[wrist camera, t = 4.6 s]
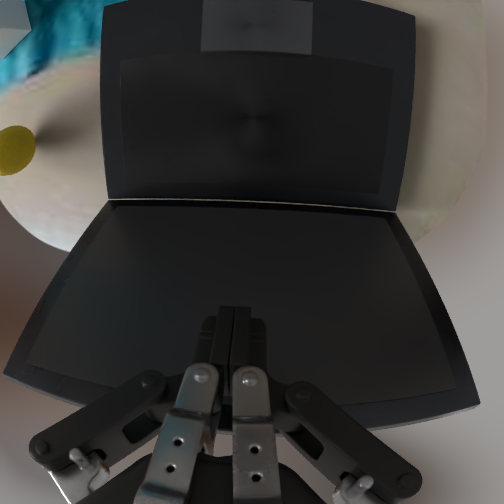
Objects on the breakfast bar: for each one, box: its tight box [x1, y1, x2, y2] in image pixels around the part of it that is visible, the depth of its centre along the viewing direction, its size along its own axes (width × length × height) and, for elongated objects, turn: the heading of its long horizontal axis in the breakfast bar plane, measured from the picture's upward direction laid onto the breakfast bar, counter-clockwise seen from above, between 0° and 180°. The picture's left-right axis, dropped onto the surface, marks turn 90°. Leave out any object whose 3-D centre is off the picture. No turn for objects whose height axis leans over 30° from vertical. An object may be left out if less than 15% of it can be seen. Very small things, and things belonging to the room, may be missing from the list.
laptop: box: [100, 0, 416, 211], centre depth 24 cm, size 21×30×2 cm
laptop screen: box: [3, 200, 480, 437], centre depth 21 cm, size 21×30×1 cm
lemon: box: [0, 126, 36, 176], centre depth 23 cm, size 6×6×8 cm
